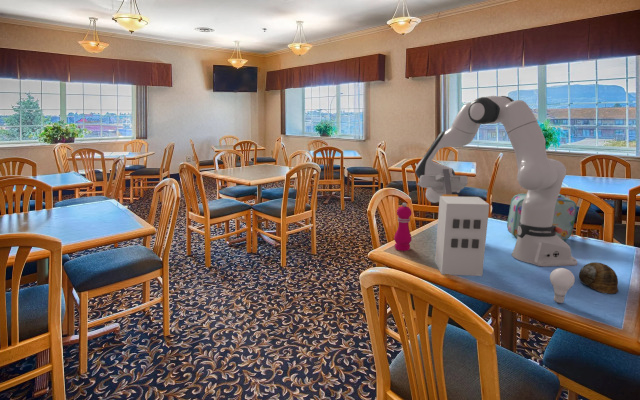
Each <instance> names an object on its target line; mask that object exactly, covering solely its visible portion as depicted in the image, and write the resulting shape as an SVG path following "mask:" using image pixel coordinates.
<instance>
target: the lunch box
mask: <svg viewBox="0 0 640 400" xmlns="http://www.w3.org/2000/svg"><path fill="white" fill-rule="evenodd" d="M526 195H527V193H518V194H515V195H514V196H513V197H512V198H511V200H510V205H509V210H508V211H509V212H508V216H507V217H508V218H507V223H506V228H507V231H508V233H510V234H511V235H512V236H513V237H514V238H515V239H517V237H518V235H517V234H518V232H517V231H518V225H519V221H520V219H521V210H522V203H523V200H524V199H525V197H526ZM576 213H577V203H576V202H575V201H574V200H572V199H570V198H569V197H567V196H565V195H564V194H561V193H559V195H558V198H557V201H556V205H555V210H554V217H553V224H552V225H554V226H556V227H559V228H561V229H562V232H561V233H560V234H559V233H557V232H556V235H557V236H558V237H560V238H561V239H562V240H563V241H564V242H565V241H567V240H568V239H570V237H571V236H572V234H573V232H574V231H573V230H574V224H575V220H576Z"/></svg>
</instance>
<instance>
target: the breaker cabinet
mask: <svg viewBox="0 0 640 400" xmlns="http://www.w3.org/2000/svg"><path fill="white" fill-rule="evenodd" d="M438 203H439V205H438V216H437V218H438V219H437V231H436V244H435V245H436V246H435V259H434V263H435V264H436V266H437V269H438V270H439V272H440V274H441V275H445V274H449V275H450V276H472V277H474V276H476V277H482V276H483V272H484V271H483V270H484V264H485V263H484V262H485V261H484V260H485V253H486V250H485V249H486V243H487V242H486V241H487V232H488V231H487V230H488V224H489V223H488V221H489V214H490V213H489V212H490V204H489V203H488V202H487V201H485V200H484V199H482V198H481V197H479V196H458V197H455V196H440V200H439V202H438Z"/></svg>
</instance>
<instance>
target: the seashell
mask: <svg viewBox="0 0 640 400" xmlns="http://www.w3.org/2000/svg"><path fill="white" fill-rule="evenodd" d="M578 278H579V281H580V282H581V283H582V284H583V285H585V286H588V287H589V288H590V289H592V290H595V291H596V292H598V293H601V294H605V293H607V295H612V294H616V293H619V288H618V287H619V278H618V275H617V274H616V271H615V270H614V269H613V268H612V267H610V266H609V265H608V264H605V263H602V262H597V261H596V262H595V261H594V262H592V261H591V262H589V263H587V264H584V266H583V267H581V269H580V271H579V273H578Z"/></svg>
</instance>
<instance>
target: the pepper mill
mask: <svg viewBox="0 0 640 400" xmlns="http://www.w3.org/2000/svg"><path fill="white" fill-rule="evenodd" d="M401 205H402V206H399V207H398V208H397V210H396V215H397V222H398V226H397V230H396V231H395V234H394V237H393V240H394V242H395V244H394V248H395V250H397V251H400V252H402V251H403V252H408V251H410V249H411V245H410V244H411V242H412V235H411V232H410V229H409V223H410V222H411V220H410V219H411V218H410V217H411V216H412V209H411V208H410V207H409V206H407V205H408V204H407V203H406V202H403V203H402V204H401Z"/></svg>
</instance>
